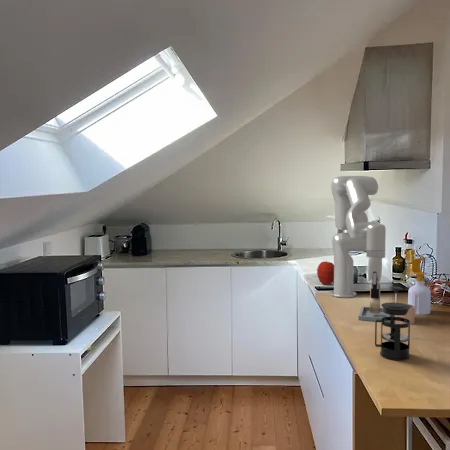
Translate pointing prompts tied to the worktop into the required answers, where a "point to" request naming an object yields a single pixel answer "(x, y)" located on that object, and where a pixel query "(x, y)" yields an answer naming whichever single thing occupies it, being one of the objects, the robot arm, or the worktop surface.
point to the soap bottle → (419, 291)
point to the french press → (394, 331)
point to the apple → (326, 272)
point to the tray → (371, 315)
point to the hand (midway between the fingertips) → (375, 296)
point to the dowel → (375, 303)
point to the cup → (408, 315)
